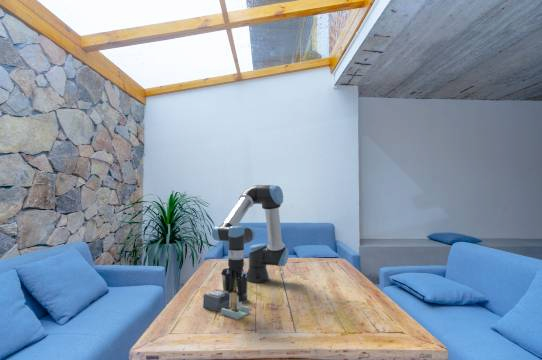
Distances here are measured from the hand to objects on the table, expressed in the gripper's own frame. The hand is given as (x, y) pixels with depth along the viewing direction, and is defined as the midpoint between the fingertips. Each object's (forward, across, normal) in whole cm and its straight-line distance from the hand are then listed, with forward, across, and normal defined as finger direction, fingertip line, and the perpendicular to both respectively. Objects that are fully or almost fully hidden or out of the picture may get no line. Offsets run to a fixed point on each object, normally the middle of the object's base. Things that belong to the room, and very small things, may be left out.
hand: (235, 307), depth 150 cm
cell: (+2, 0, 0) cm, 2 cm away
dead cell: (+3, -9, +17) cm, 20 cm away
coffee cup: (+3, -18, +16) cm, 24 cm away
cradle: (+3, -14, +2) cm, 15 cm away
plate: (-2, -14, +2) cm, 14 cm away
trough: (+3, 0, 0) cm, 3 cm away
